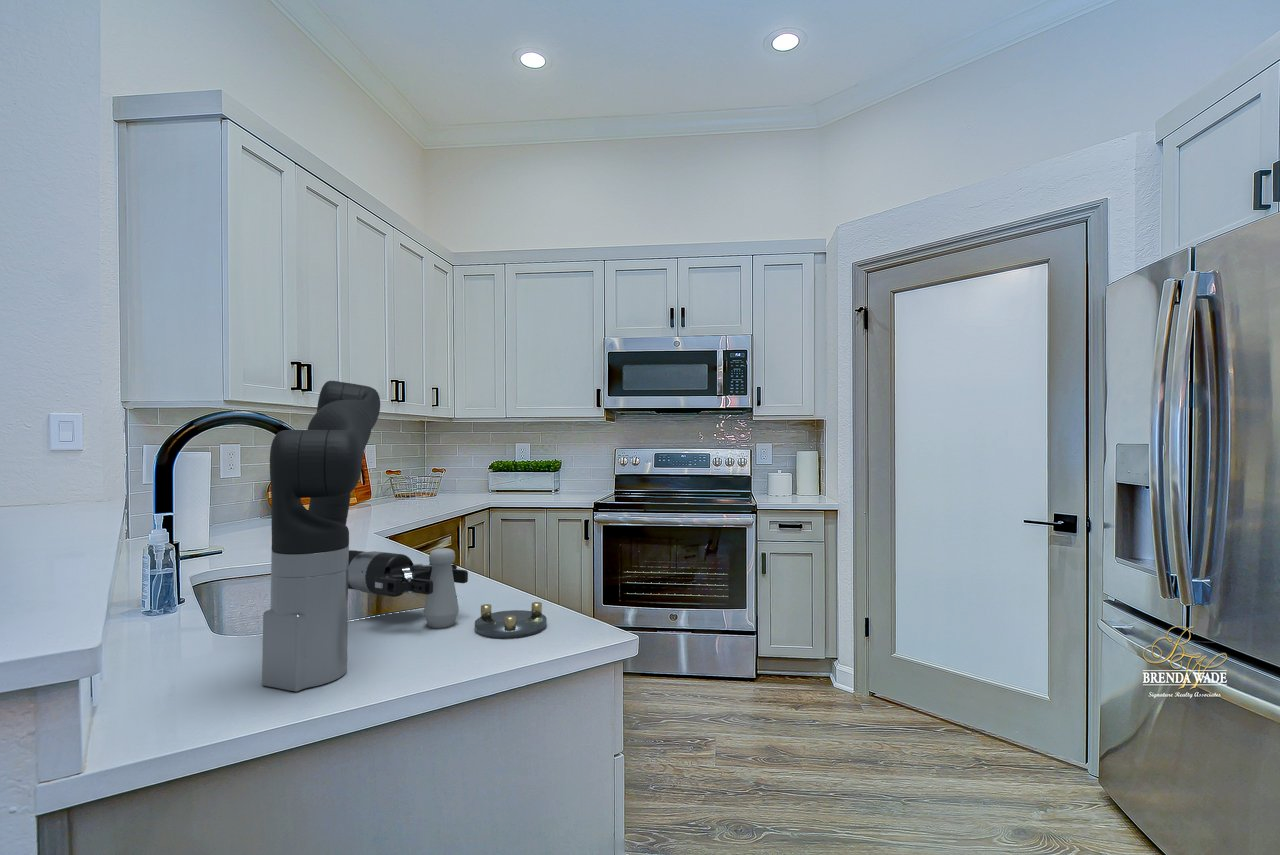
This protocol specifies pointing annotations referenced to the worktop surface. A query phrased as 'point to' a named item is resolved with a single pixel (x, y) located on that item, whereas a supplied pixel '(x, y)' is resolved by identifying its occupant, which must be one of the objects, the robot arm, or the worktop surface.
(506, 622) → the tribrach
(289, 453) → the robot arm
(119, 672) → the worktop surface
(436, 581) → the salt shaker
